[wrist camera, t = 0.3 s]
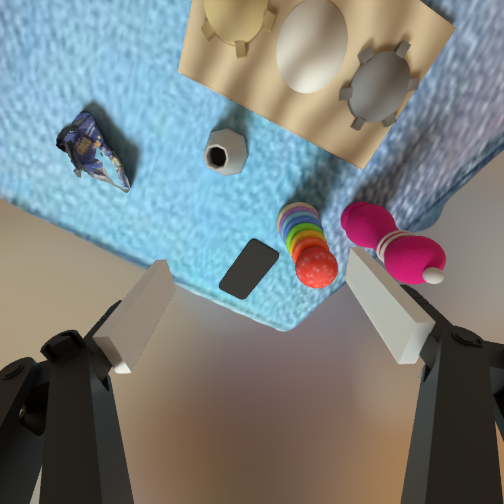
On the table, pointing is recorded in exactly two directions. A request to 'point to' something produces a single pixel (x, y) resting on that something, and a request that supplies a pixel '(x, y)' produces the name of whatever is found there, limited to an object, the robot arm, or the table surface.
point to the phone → (248, 269)
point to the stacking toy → (307, 244)
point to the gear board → (316, 63)
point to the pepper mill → (394, 244)
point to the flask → (226, 152)
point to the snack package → (89, 149)
